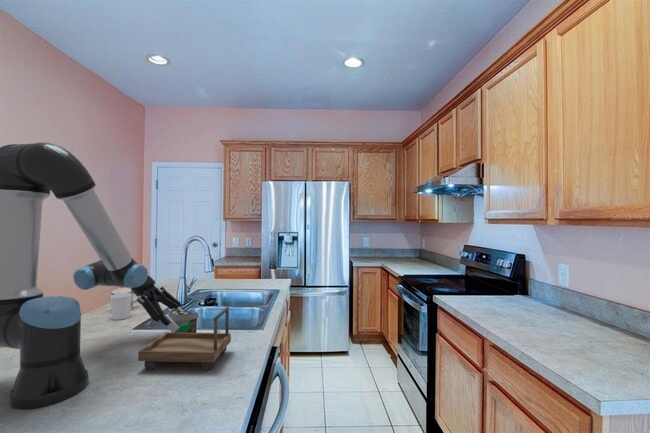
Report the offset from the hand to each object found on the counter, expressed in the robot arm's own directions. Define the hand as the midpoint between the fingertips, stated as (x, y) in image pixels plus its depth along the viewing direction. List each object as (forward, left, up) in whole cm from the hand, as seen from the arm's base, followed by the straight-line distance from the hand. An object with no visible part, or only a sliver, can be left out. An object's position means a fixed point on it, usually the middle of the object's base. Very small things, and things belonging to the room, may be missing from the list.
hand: (182, 325), depth 115 cm
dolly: (-17, -10, -5) cm, 21 cm away
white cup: (+23, +39, -5) cm, 45 cm away
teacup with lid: (+35, +45, -5) cm, 57 cm away
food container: (-1, +1, -5) cm, 5 cm away
